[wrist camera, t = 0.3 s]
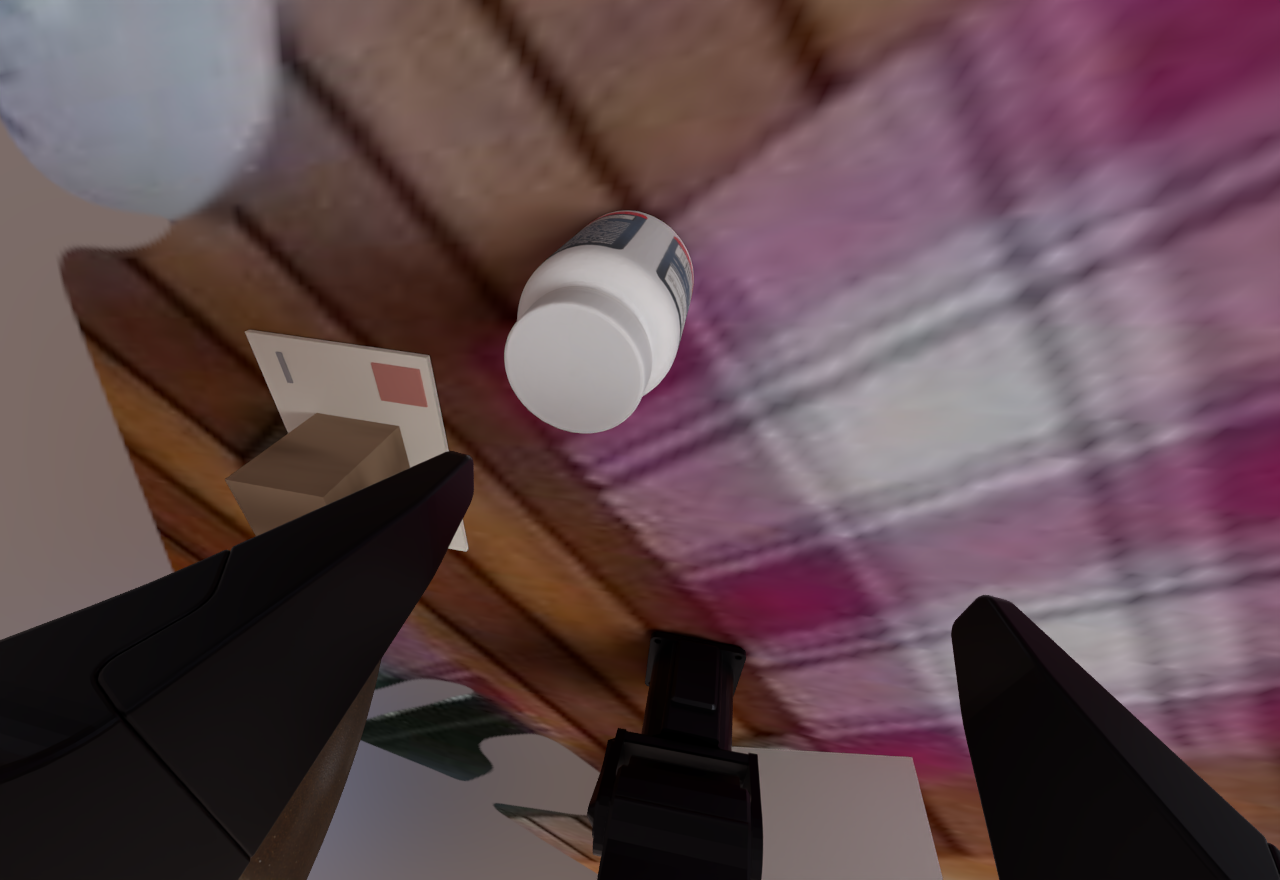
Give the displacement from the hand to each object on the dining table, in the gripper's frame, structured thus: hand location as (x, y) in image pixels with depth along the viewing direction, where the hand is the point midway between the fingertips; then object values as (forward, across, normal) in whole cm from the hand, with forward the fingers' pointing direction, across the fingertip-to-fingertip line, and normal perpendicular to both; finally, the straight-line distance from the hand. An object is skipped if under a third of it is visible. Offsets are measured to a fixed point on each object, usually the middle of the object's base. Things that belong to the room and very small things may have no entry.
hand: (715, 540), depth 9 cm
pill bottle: (+14, +4, 0) cm, 15 cm away
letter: (+14, +18, +14) cm, 27 cm away
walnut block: (+14, +18, +14) cm, 27 cm away
